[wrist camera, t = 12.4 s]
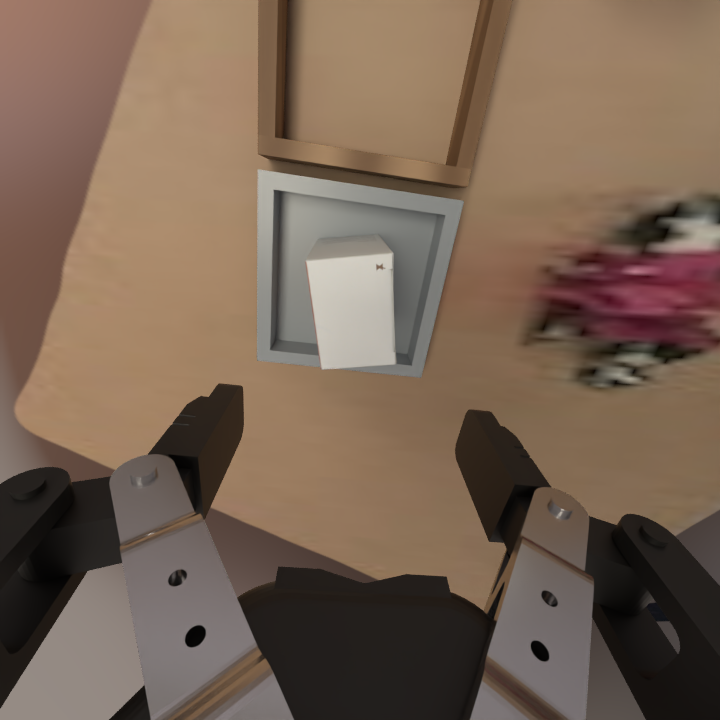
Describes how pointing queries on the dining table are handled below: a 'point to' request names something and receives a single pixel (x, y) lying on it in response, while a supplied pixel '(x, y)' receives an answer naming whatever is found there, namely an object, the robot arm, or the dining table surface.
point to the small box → (352, 301)
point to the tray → (342, 219)
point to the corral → (450, 175)
